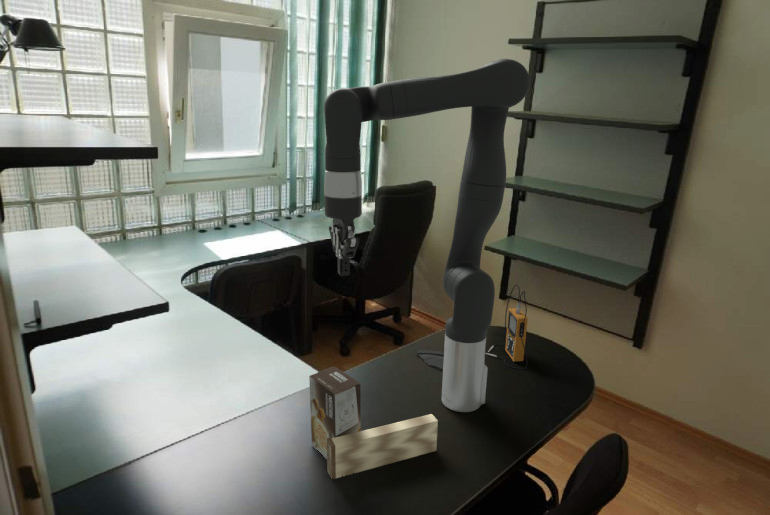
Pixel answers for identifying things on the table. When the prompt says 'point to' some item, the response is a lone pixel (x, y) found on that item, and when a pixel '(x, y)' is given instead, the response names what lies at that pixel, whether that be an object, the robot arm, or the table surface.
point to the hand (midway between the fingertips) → (343, 274)
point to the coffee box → (333, 406)
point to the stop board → (381, 445)
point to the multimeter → (515, 332)
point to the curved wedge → (432, 358)
